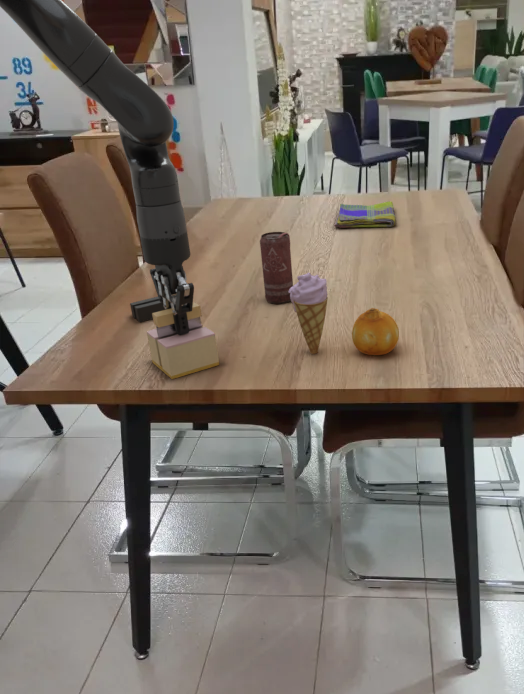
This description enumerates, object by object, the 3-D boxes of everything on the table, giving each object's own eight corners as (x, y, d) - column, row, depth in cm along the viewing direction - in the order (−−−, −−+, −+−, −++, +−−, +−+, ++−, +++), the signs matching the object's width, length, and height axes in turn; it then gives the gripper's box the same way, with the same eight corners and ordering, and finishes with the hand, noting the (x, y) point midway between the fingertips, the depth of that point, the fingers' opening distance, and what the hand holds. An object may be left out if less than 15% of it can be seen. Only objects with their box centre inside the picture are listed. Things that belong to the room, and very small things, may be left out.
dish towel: (395, 208, 217) (395, 199, 215) (395, 228, 196) (395, 218, 194) (339, 210, 218) (339, 201, 217) (333, 230, 198) (333, 220, 196)
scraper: (165, 365, 119) (156, 316, 115) (160, 361, 121) (151, 313, 116) (207, 353, 123) (200, 305, 118) (202, 349, 125) (195, 302, 120)
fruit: (345, 349, 118) (368, 309, 115) (342, 335, 125) (364, 296, 122) (386, 370, 120) (410, 331, 117) (382, 355, 127) (404, 317, 124)
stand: (139, 322, 142) (137, 308, 140) (132, 316, 145) (129, 303, 143) (180, 311, 146) (178, 298, 144) (172, 306, 149) (170, 293, 147)
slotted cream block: (171, 379, 117) (166, 346, 114) (152, 362, 124) (146, 331, 121) (219, 364, 121) (215, 333, 118) (198, 349, 128) (193, 318, 125)
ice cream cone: (293, 360, 121) (286, 277, 114) (293, 346, 126) (286, 266, 119) (331, 357, 121) (326, 274, 114) (329, 344, 127) (325, 263, 119)
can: (300, 299, 148) (295, 234, 141) (274, 306, 145) (268, 240, 138) (286, 292, 153) (281, 228, 146) (260, 299, 150) (254, 234, 143)
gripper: (125, 227, 114) (144, 325, 123) (157, 243, 104) (175, 349, 113) (168, 219, 118) (183, 315, 126) (202, 234, 107) (216, 337, 116)
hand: (179, 330), depth 119 cm, fingers closed on scraper, 2 cm apart
